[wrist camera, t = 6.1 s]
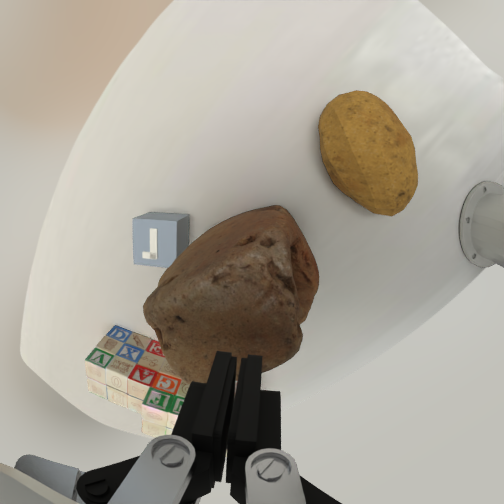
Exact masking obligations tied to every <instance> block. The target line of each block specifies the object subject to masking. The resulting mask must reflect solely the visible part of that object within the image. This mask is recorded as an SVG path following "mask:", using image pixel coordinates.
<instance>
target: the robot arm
mask: <svg viewBox="0 0 504 504" xmlns="http://www.w3.org/2000/svg"><path fill="white" fill-rule="evenodd" d="M460 240H461V246H462V248H463V251H464V253H465V255H466V257H467V258H468V259H469V261H470V262H472V263H473V264H475V265H477V266H479V267H484V268H485V267H490V266H492V265H494V264H498V265H500V266H502V267H504V188H503V187H502V186H501V185H499V184H497V183H494V182H482V183H480V184H478V185H477V186H475V187H474V189H473V190H472V191H471V192H470V194H469V195H468V197H467V199H466V201H465V203H464V206H463V209H462V213H461V218H460ZM262 357H263V356H260V355H250V354H248V357H247V358H241V364H240V370H239V375H238V381H237V387H236V393H235V383H236V367H237V357H233V356H232V352H224V351H217V352H216V355H215V358H214V361H213V364H212V367H211V371H210V374H209V377H208V380H207V384H206V383H200V382H194V381H192V382H191V384H190V386H189V388H188V391H187V394H186V396H185V399H184V402H183V404H182V407H181V410H180V412H179V415H178V418H177V420H176V423H175V426H174V428H173V431H172V434H171V435H163V436H158V437H156V438H155V439H153V440H152V441H151V442H150V443H149V444H148V445H147V447H146V448H145V450H144V451H143V452H142V454H141V455H140V456H138V457H135V458H131V459H128V460H125V461H122V462H119V463H116V464H112V465H109V466H105V467H102V468H98V469H94V470H91V471H88V472H82V471H80V470H79V469H78V468H74V467H70V466H67V465H63V464H59V463H56V462H53V461H50V460H46V459H43V458H40V457H37V456H34V455H24V456H22V457H20V458H19V459H18V461H17V462H16V465H15V467H14V468H12V467H10V466H7V465H4V464H2V463H0V504H199V502H200V499H201V497H202V496H204V495H206V494H208V493H210V492H211V488H214V485H215V481H219V482H221V480H222V473H223V468H224V463H225V457H226V452H227V465H226V483H231V490H230V491H231V492H230V495H231V496H232V497H233V498H234V499H235V500H236V501H237V502H238V503H239V504H342V503H340V502H338V501H337V500H335V499H334V498H332V497H330V496H329V495H327V494H326V493H324V492H323V491H321V490H320V489H318V488H317V487H315V486H314V485H313V484H311V483H310V482H308V481H307V480H305V479H304V478H303V477H301V476H300V475H299V472H298V468H297V464H296V462H295V460H294V459H293V458H292V457H291V456H290V455H289V454H288V453H286V452H284V451H282V450H281V397H280V391H266V390H260V387H261V373H262Z"/></svg>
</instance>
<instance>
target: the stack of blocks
mask: <svg viewBox="0 0 504 504" xmlns="http://www.w3.org/2000/svg"><path fill="white" fill-rule="evenodd" d="M85 366H86V376H87V383H88V391H89V392H91V393H93V394H95V395H98V396H100V397H102V398H104V399H107V400H108V401H110V402H113V403H115V404H117V405H120V406H122V407H125V408H128V409H130V410H132V411H135V412H137V413H140V414H142V433H145V434H147V435H150V436H153V437H158V436H163V435H171V434H172V431H173V428H174V426H175V423H176V420H177V418H178V415H179V412H180V410H181V407H182V404H183V402H184V399H185V396H186V394H187V391H188V388H189V386H190V385H189V384H188V383H186V382H184V381H183V380H182V379H181V378H180V376H179V375H178V374H177V373H176V372H174V371H173V370H172V369H171V368H170V366H169V364H168V362H167V360H166V358H165V356H164V354H163V352H162V350H161V346H160V343H159V342H158V341H155V340H152V339H151V338H148V337H145V336H142V335H140V334H137V333H134V332H131V331H129V330H126V329H124V328H121V327H118V326H116V325H115V326H114V327H113V328H112V329H111V330H110V331H109V332H108V333H107V334H106V336H104V337H103V339H102V340H101V341H100V342H99V343H98V344H97V345H96V348H94V350H93V351H92V352H91V353H90V354H89V356H88V357H87V358H86V359H85ZM237 381H238V380H237ZM237 381H236V383H235V393H236V387H237ZM226 457H227V452H226Z"/></svg>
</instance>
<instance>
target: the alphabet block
mask: <svg viewBox="0 0 504 504" xmlns="http://www.w3.org/2000/svg"><path fill="white" fill-rule="evenodd" d="M188 246H189V214H174V213H157V212H149V213H146V214H144V215H141V216H138V217H135V218H133V258H134V264H138V265H147V266H156V267H165V268H168V267H170V266H171V265H172V263H173V262H174V260H175V259H176V258H177V257H178V256H179V255H180V254H181V253H182V252H183V251H184V250H185V249H186V248H187V247H188Z"/></svg>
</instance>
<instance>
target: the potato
mask: <svg viewBox="0 0 504 504" xmlns="http://www.w3.org/2000/svg"><path fill="white" fill-rule="evenodd" d="M318 129H319V135H320V150H321V155H322V159H323V162H324V165H325V167H326V169H327V171H328V174H329V176H330V177H331V179H332V181H333V183H334V184H335V185H336V186H337V187H338V188H339V189H340V190H341V191H342V192H343V193H344V194H345V195H347V196H349V197H350V198H352V199H353V200H354V201H355V202H357V203H358V204H360V205H362V206H363V207H365V208H366V209H368V210H369V211H371V212H373V213H375V214H381V215H387V216H393V215H395V214H397V213H399V212H401V211H402V210H404V208H405V207H406V206H407V204H408V203H409V202H410V200H411V199H412V197H413V195H414V193H415V190H416V188H417V185H418V172H417V165H416V157H415V148H414V144H413V141H412V137H411V136H410V134H409V133H408V131H407V130H406V129H405V127H404V126H403V124H402V123H401V121H400V120H399V119H398V117H397V116H396V114H395V113H394V112H393V111H392V109H391V108H390V107H389V106H388V105H387V104H386V103H385V102H383V101H382V100H381V99H380V98H378V97H377V96H375V95H373V94H371V93H369V92H365V91H353V92H349V93H345V94H341V95H338V96H337V97H336V98H334V99H333V100H332V101H331V102H329V103H328V104H327V105H326V107H325V109H324V110H323V112H322V114H321V115H320V120H319V125H318Z"/></svg>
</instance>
